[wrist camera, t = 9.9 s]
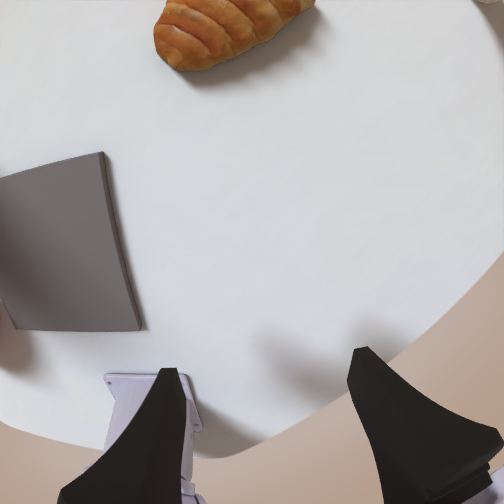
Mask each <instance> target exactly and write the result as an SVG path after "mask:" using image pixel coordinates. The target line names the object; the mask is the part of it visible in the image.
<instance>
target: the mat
mask: <svg viewBox="0 0 504 504" xmlns="http://www.w3.org/2000/svg"><path fill="white" fill-rule="evenodd" d="M0 296H1V299H2V301H3V303H4V305H5V307H6V310H7V312H8V314H9V316H10V318H11V320H12V322H13V324H14V326H15V328H16V329H21V330H41V331H75V332H123V331H140V329H141V326H142V324H141V320H140V317H139V314H138V311H137V307H136V304H135V300H134V297H133V294H132V290H131V286H130V283H129V279H128V275H127V271H126V268H125V264H124V260H123V255H122V251H121V247H120V243H119V238H118V234H117V229H116V224H115V220H114V215H113V210H112V204H111V199H110V193H109V188H108V182H107V175H106V169H105V162H104V155H103V152H98V153H93V154H88V155H84V156H79V157H75V158H70V159H66V160H62V161H58V162H54V163H50V164H46V165H43V166H39V167H35V168H32V169H28V170H25V171H22V172H18V173H15V174H12V175H9V176H6V177H2V178H0Z"/></svg>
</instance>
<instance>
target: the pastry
mask: <svg viewBox="0 0 504 504" xmlns="http://www.w3.org/2000/svg"><path fill="white" fill-rule="evenodd" d="M314 4H315V0H167V2H166V6H165V8H164V10H163V13H162V14H161V16H160V18H159V20H158V21H157V23H156V24H155V26H154V42H155V47H156V51H157V54H158V55H159V56H160V58H162V60H163V61H165V62H166V63H167V64H169V65H170V66H171V67H172V68H174V69H176V70H179V71H205V70H207V69H209V68H211V67H212V66H214V65H216V64H218V63H220V62H222V61H223V60H226V59H229V58H233V57H237V56H238V55H240V54H242V53H244V52H245V51H247V50H248V49H249V48H251V47H254V46H256V45H258V44H261V43H264V42H267V41H269V40H271V39H273V37H274V36H275V35H276V33H277V31H278V30H279V29H280V28H281V27H283V26H285V25H286V24H287V23H288V22H289V21H290V20H292V19H293V18H294V17H295V16H297V15H299V14H300V13H302V11H304V10H306V9H309V8H311V7H312V6H313V5H314Z"/></svg>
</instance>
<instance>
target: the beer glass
mask: <svg viewBox="0 0 504 504" xmlns="http://www.w3.org/2000/svg"><path fill="white" fill-rule="evenodd" d="M477 1H479V2H481V3H485V4H490V3H493V2H495V1H497V0H477Z"/></svg>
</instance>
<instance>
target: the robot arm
mask: <svg viewBox="0 0 504 504" xmlns="http://www.w3.org/2000/svg"><path fill="white" fill-rule="evenodd" d="M104 381H105V382H106V384H107V386H108V388H109V390H110V392H111V393H112V395H113V397H114V399H115V400H116V402H115V405H114V409H113V413H112V417H111V421H110V425H109V429H108V433H107V437H106V442H105V446H104V450H103V455H102V456H101V457H100V458H99V459H98V461H96V462H95V463H94V464H90V466H87V467H84V469H83V471H82V474H81V476H79V477H78V478H76V479H75V480H73V481H72V482H71V483H69V484H68V485H66V486H65V487H63V488H62V489H61V491H60V494H59V497H58V501H57V504H206V501H205V500H204V498H203V497H202V496H201V495H199V494H196V493H195V484H194V483H191V482H190V481H191V478H192V470H193V468H192V467H193V466H192V465H193V436H194V432H201V431H202V430H203V426H202V423H201V420H200V417H199V414H198V411H197V408H196V405H195V402H194V399H193V396H192V393H191V390H190V386H189V383H188V380H187V377H186V376H185V375H183V374H178V371H177V368H161V369H160V371H159V373H158V375H142V374H105V375H104ZM181 382H182V383H181ZM347 383H348V387H349V391H350V394H351V398H352V401H353V404H354V406H355V408H356V411H357V413H358V415H359V418H360V420H361V422H362V424H363V427H364V429H365V432H366V434H367V436H368V439H369V441H370V444H371V447H372V450H373V453H374V457H375V461H376V465H377V469H378V473H379V478H380V482H381V488H382V493H383V499H384V504H504V465H503V466H501V467H500V468H498V469H497V470H495V471H494V472H493V473H492V474H490V475H489V473H488V470H489V469H490V466H489V464H488V462H489V461H490V460H491V459H492V458H493V457H494V456H495V455H496V454H497V453H498V452H499V451H500V450H501V449H502V448H503V446H504V440H503V439H502V437H501V436H500V434H499V432H498V430H497V429H496V428H493V427H490V426H486V425H483V424H480V423H476V422H474V421H471V420H469V419H466V418H464V417H462V416H460V415H457V414H455V413H453V412H451V411H449V410H447V409H446V408H444V407H442V406H440V405H438V404H437V403H435V402H434V401H432V400H430V399H429V398H427V397H426V396H424V395H423V394H422V393H420V392H419V391H418V390H416V389H415V388H414V387H412V386H411V385H410V384H409V383H407V382H406V381H405V380H404V379H403V378H402V377H400V376H399V375H398V374H397V373H396V372H394V371H393V370H392V369H391V368H390V367H389V366H388V365H387V364H386V363H385V362H384V361H383V360H382V359H381V358H379V357H378V356H377V355H376V354H375V353H374V352H373V351H372V350H371V349H370V348H369V347H368V346H367V347H362V348H356V349H354V352H353V356H352V361H351V365H350V369H349V373H348V378H347Z"/></svg>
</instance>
